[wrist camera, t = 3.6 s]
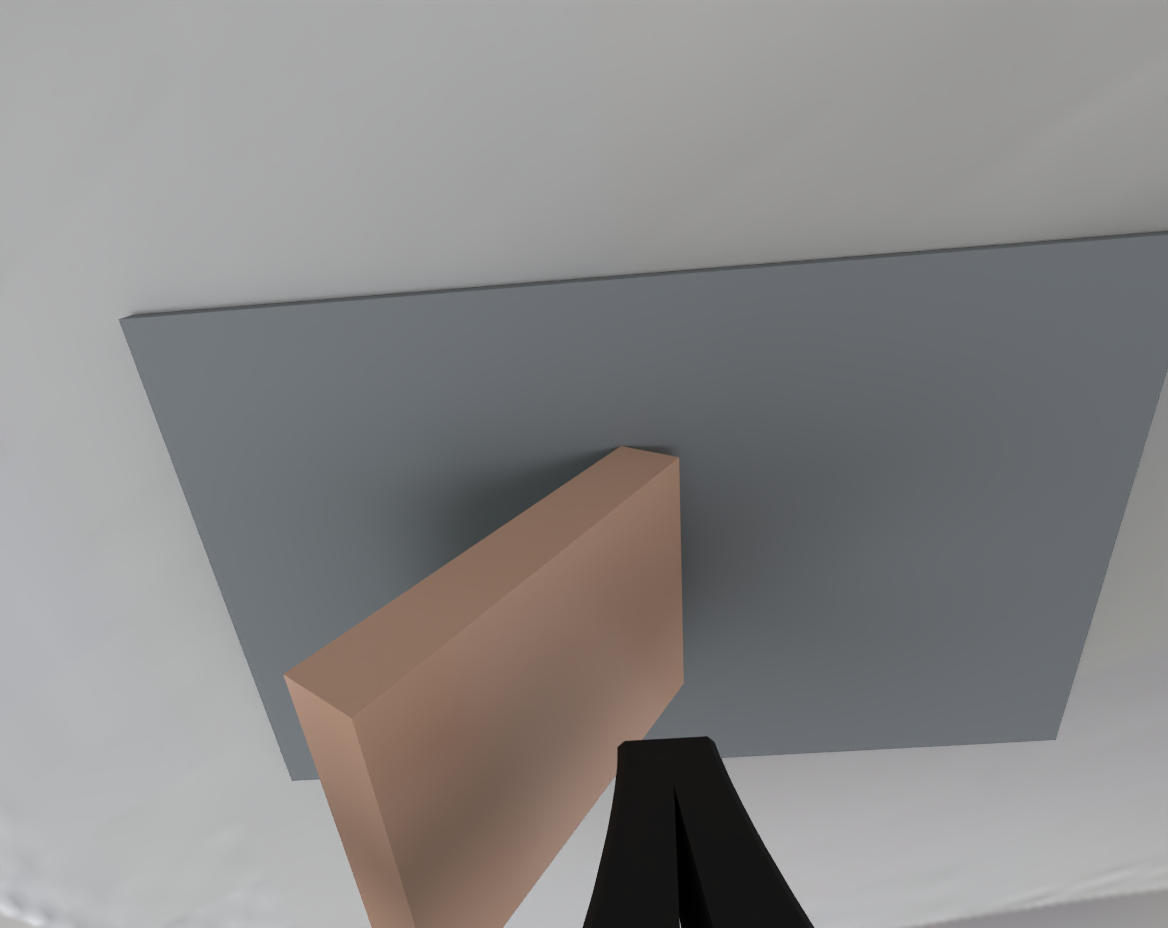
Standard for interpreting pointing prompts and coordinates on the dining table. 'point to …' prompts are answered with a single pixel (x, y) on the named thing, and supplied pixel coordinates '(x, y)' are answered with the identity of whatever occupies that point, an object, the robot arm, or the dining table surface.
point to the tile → (499, 697)
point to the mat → (705, 468)
